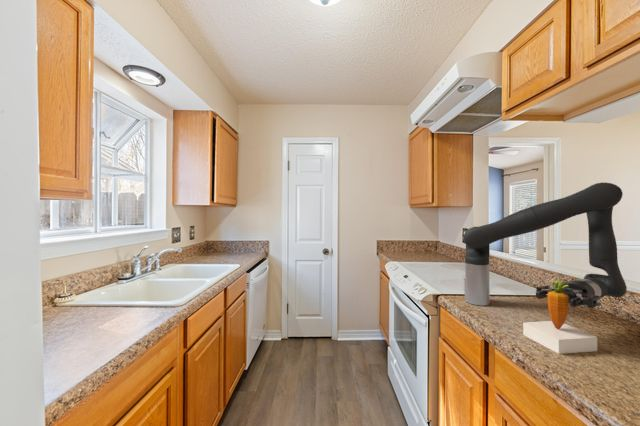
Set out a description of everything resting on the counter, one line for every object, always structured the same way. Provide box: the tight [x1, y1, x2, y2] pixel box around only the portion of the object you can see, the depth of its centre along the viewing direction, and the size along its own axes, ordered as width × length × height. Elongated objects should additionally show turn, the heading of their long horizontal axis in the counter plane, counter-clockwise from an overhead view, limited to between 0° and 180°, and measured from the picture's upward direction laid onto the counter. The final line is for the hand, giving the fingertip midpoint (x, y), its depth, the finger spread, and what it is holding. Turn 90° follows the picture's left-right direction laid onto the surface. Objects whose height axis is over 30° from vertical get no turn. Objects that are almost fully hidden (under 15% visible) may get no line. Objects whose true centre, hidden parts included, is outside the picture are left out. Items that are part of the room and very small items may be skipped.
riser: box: [522, 320, 598, 355], centre depth 84 cm, size 12×12×4 cm
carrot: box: [546, 280, 570, 329], centre depth 84 cm, size 5×5×15 cm
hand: (554, 299), depth 83 cm, fingers open, 8 cm apart
